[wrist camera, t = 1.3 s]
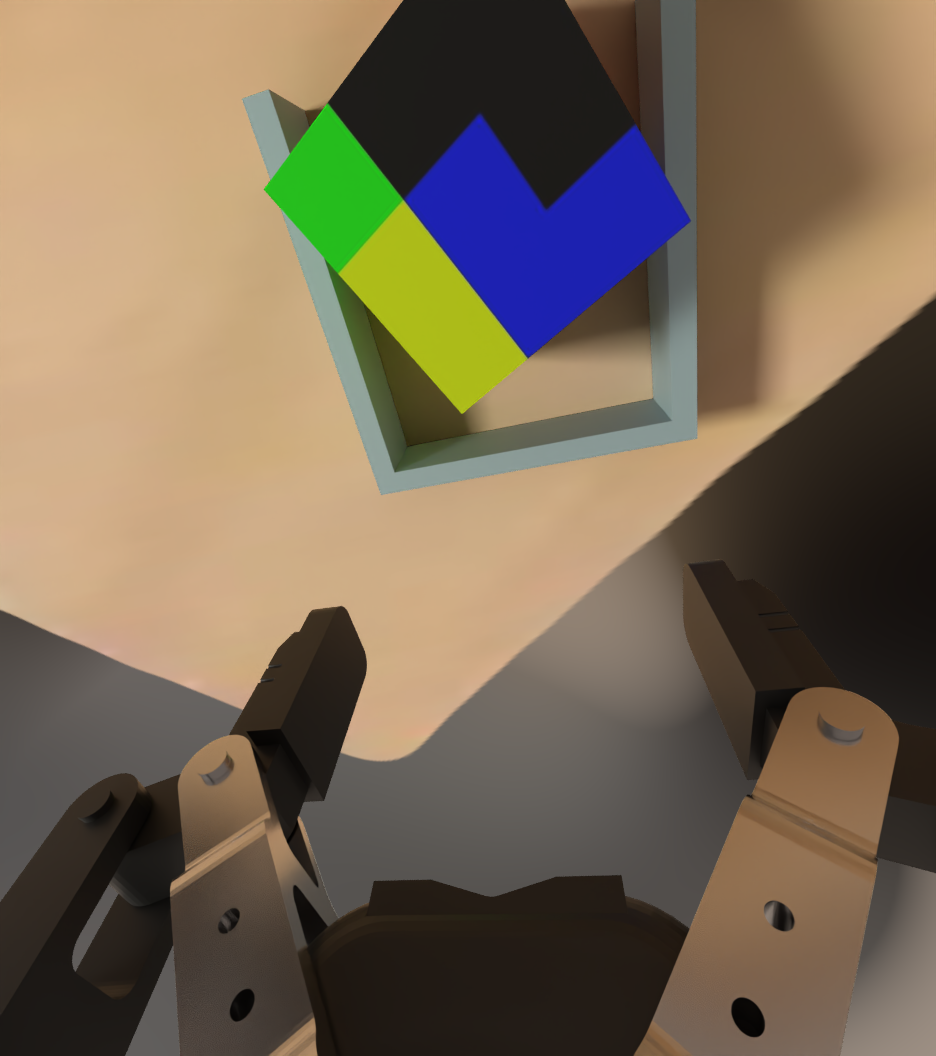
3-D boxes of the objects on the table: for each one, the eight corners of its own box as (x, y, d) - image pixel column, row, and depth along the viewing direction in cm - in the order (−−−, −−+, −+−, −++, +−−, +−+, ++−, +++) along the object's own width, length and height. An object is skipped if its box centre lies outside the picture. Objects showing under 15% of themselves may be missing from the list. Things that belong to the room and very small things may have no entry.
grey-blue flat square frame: (281, 118, 24) (242, 98, 20) (664, -11, 20) (695, -60, 17) (395, 467, 32) (380, 494, 29) (675, 414, 29) (697, 438, 26)
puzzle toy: (629, 225, 25) (691, 220, 16) (477, 359, 29) (462, 414, 20) (501, 20, 21) (494, -123, 13) (348, 204, 25) (263, 189, 17)
